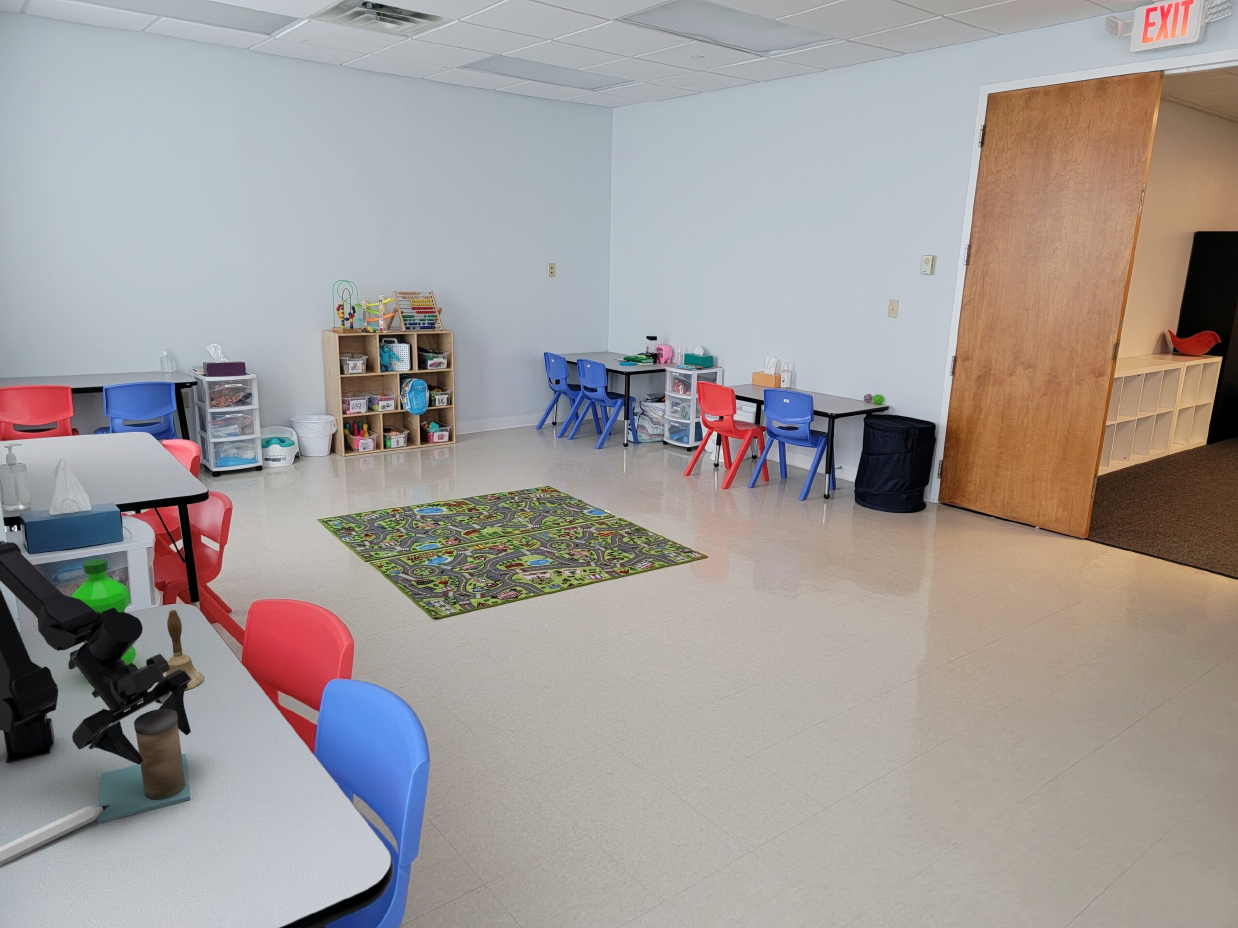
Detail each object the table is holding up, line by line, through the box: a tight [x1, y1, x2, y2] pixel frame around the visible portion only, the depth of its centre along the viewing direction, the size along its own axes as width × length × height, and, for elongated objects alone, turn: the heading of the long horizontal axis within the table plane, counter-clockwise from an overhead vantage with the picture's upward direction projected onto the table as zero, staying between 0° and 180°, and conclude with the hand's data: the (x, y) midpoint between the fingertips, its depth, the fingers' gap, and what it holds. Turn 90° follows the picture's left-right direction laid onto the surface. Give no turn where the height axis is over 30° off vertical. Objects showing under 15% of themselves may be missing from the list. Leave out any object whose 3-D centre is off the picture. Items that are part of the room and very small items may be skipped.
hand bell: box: [165, 609, 205, 691], centre depth 177 cm, size 8×8×16 cm
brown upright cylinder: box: [133, 708, 185, 800], centre depth 142 cm, size 6×6×13 cm
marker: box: [0, 804, 111, 866], centre depth 132 cm, size 3×2×16 cm
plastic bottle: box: [71, 558, 137, 665], centre depth 179 cm, size 10×10×25 cm
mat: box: [97, 753, 191, 824], centre depth 144 cm, size 13×14×1 cm
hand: (165, 747), depth 141 cm, fingers open, 9 cm apart
